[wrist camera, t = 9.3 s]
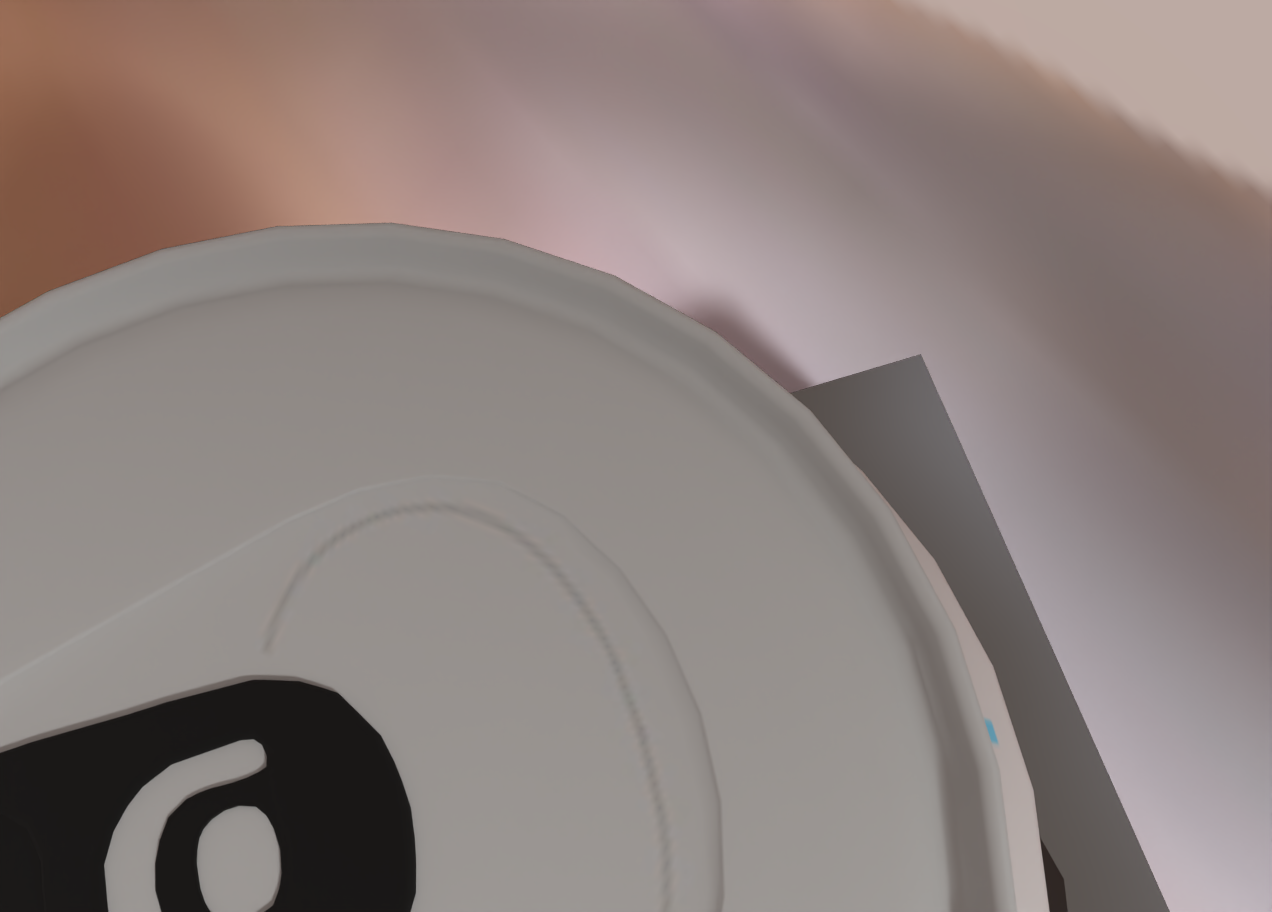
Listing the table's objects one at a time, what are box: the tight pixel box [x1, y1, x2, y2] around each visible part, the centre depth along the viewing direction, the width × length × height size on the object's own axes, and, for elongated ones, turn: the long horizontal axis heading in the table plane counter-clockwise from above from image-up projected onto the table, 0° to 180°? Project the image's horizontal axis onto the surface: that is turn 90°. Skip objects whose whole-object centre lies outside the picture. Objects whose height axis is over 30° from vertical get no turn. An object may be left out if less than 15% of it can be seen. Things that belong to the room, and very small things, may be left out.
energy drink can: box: [0, 223, 1050, 912], centre depth 11 cm, size 6×6×15 cm
